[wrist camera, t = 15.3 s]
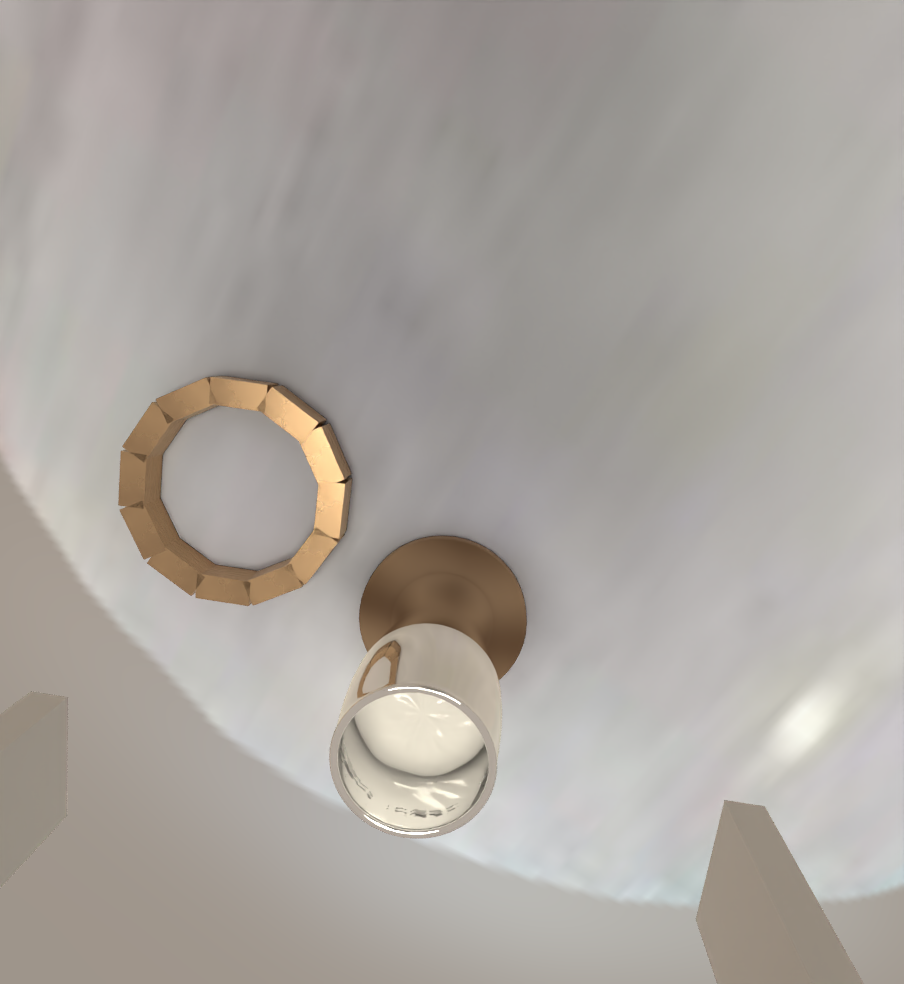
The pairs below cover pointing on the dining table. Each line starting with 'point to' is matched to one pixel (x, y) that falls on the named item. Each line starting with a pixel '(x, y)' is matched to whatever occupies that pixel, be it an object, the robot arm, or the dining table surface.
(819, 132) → the dining table surface
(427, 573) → the walnut coaster
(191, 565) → the ring
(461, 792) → the beer glass
